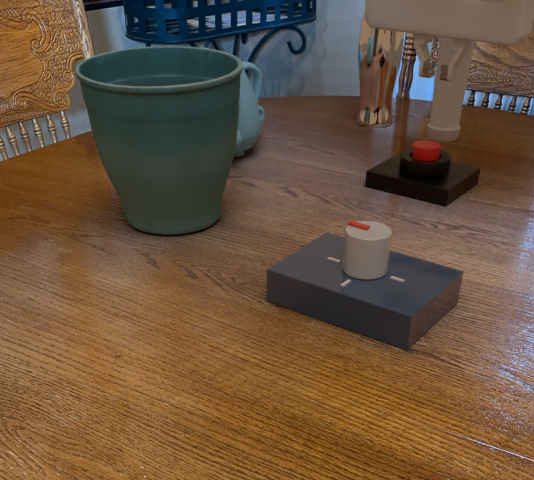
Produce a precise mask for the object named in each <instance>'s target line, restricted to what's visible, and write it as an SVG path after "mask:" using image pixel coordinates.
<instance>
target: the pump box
mask: <svg viewBox="0 0 534 480" xmlns="http://www.w3.org/2000/svg"><path fill="white" fill-rule="evenodd" d="M412 151H413V147H412V148H407V149H405V150H403V151H402V150H401V151H400V152H398V153H396V154H394V155H393V156H390V157H389V158H387V159H386V160H384V161H382V162H380V163H378V164H375V166H373V167H371V168H369V169H368V170H366V171H365V181H364V184H365V185H364V188H367V189H371V190H374V191H379V192H384V193H388V194H391V195H395V196H399V197H404V198H408V199H412V200H417V201H421V202H424V203H428V204H432V205H436V206H440V207H445V208H446V207H448V206H449V205H451V204H452V203H454V202H455V201H457V200H458V199H459V198H461V197H462V196H463V195H464V194H467V192H469V191H470V190H472V189H473V188H475V187H476V186H477V185H479V179H480V173H481V167H478V166H472V165H467V164H464V163H463V164H462V163H460V162H459V163H458V162H453V161H452V157H451V153H449V152H446V151H445V150H442V149H441V150H440V157H439V159H438V160H434V161H422V160H417V159H414V158H412Z"/></svg>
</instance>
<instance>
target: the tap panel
mask: <svg viewBox="0 0 534 480" xmlns="http://www.w3.org/2000/svg"><path fill="white" fill-rule="evenodd" d="M344 242H345V236H342V235H338V234H334V233H331V232H326V231H325V232H324V233H323V234H321V235H320V236H318V237H316V238H315V239H313V240H312V241H310V242H309V243H306V244H305V245H304V246H302V247H300V248H298V249H297V250H296V251H294V252H292V253H290V254H289V255H287V256H286V257H284V258H282V259H280V260H279V261H278V262H276V263H274V264H273V265H271V266H269V267H268V268H266V302H268V303H271V304H274V305H276V306H280V307H283V308H285V309H288V310H292V311H294V312H297V313H299V314H302V315H305V316H308V317H311V318H313V319H317V320H320V321H322V322H324V323H328V324H331V325H333V326H336V327H339V328H342V329H345V330H348V331H350V332H353V333H356V334H359V335H362V336H365V337H367V338H369V339H370V338H371V339H373V340H376V341H379V342H381V343H384V344H387V345H390V346H393V347H395V348H399V349H402V350H404V351H408V350H409V349H410V348H411V347H412V346H413V345H414V344H415V343H417V342H418V340H420V339H421V338H422V337H423V336H424V335H425V334H426V333H427V332H428V331H429V330H430V329H432V328H433V327H434V326H435V325H436V324H437V323H438V322H439V321H440V320H441V319H442V318H444V316H446V314H448V313H449V312H450V311H451V310H452V309H454V307H455V306H456V305H458V303H459V297H460V292H461V289H462V288H461V287H462V282H463V277H464V271H463V270H460V269H457V268H454V267H450V266H446V265H443V264H439V263H436V262H433V261H429V260H425V259H423V258H419V257H415V256H412V255H408V254H405V253H401V252H399V251H398V252H397V251H394V250H391V249H390V254H389V262H388V271H387V273H386V274H385V275H384V276H383V277H380V278H377V279H370V280H364V279H357V278H353V277H351V276H348V275H347V274H346V273H345V272H344V271H343V256H344Z"/></svg>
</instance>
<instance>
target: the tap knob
mask: <svg viewBox="0 0 534 480" xmlns="http://www.w3.org/2000/svg"><path fill="white" fill-rule="evenodd" d="M345 227H346V228H345V229H344V230H345V231H344V237H345V242H344V256H343V271H344V272H345V273H346V274H347V275H348V276H351V277H353V278H357V279H364V280H370V279H377V278H380V277H383V276H384V275H385V274H386V273H387V271H388V262H389V254H390V250H391V245H392V236H393V229H392V228H391V227H390V226H388V224H385V223H382V222H378V221H374V220H361V221H354V220H350V221H348V223H347V226H345Z"/></svg>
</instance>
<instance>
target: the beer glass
mask: <svg viewBox="0 0 534 480" xmlns="http://www.w3.org/2000/svg"><path fill="white" fill-rule="evenodd" d="M404 41H405V32H398V31H390V30H383V29H375V28H370V27H369V26H368V24H367V22H366V19H365V14H363V15H361V24H360V31H359V38H358V46H357V47H358V48H357V49H358V50H357V51H358V53H357V67H358V68H357V69H358V80H359V81H358V82H359V83H358V84H359V104H358V108H357V112H356V115H355V116H356V118H355V123H356V124H357V125H359V126H362V127H369V128H384V127H388V126H390V125H391V124H392V123H393V104H392V103H393V95H394V91H395V86H396V83H397V79H398V76H399V71H400V67H401V63H402V59H403V50H404V43H405V42H404Z"/></svg>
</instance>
